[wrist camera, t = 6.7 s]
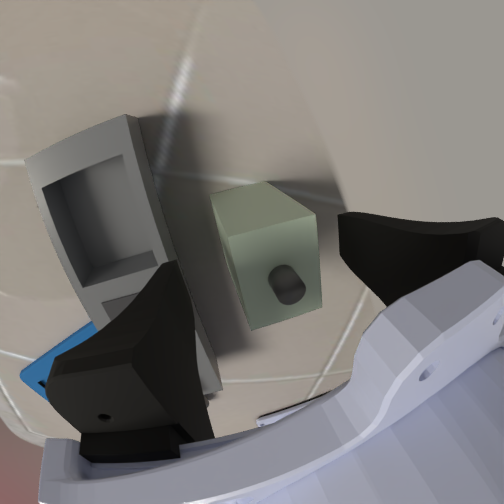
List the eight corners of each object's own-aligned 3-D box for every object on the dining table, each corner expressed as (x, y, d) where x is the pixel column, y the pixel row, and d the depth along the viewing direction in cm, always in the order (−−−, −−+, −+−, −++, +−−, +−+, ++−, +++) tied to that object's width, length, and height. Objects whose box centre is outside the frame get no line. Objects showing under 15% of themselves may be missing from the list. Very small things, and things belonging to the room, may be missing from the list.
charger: (276, 248, 16) (333, 321, 10) (226, 262, 16) (257, 347, 10) (265, 181, 14) (329, 223, 8) (209, 194, 14) (233, 250, 8)
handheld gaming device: (205, 378, 18) (84, 428, 19) (204, 367, 19) (85, 419, 20) (125, 303, 14) (16, 379, 15) (128, 293, 15) (19, 370, 16)
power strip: (232, 394, 21) (241, 429, 18) (176, 407, 20) (180, 442, 17) (137, 117, 11) (122, 113, 8) (51, 152, 11) (17, 162, 8)
